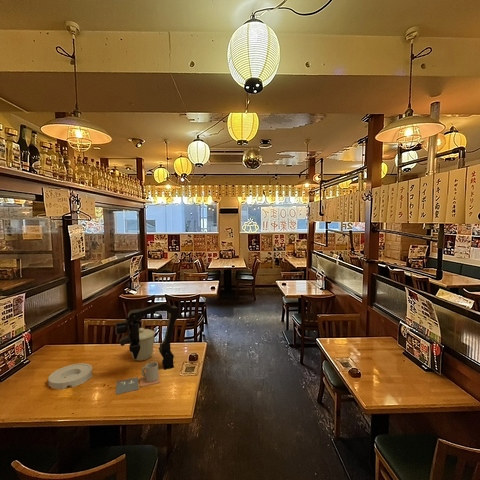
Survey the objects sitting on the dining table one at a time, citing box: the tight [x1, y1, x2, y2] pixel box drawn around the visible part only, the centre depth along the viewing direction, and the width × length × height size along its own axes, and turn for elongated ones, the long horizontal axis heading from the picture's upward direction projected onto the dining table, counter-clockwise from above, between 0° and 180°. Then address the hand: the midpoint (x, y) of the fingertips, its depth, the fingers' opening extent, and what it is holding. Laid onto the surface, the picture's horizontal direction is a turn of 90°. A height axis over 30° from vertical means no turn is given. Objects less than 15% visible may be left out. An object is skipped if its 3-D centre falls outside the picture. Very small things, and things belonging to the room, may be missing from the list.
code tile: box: [115, 376, 140, 396], centre depth 165 cm, size 12×14×1 cm
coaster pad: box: [139, 373, 161, 388], centre depth 170 cm, size 11×10×1 cm
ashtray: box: [47, 362, 93, 390], centre depth 174 cm, size 23×23×4 cm
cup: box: [141, 361, 160, 382], centre depth 170 cm, size 7×10×9 cm
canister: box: [130, 327, 156, 362], centre depth 200 cm, size 18×18×21 cm
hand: (135, 355), depth 176 cm, fingers open, 9 cm apart
